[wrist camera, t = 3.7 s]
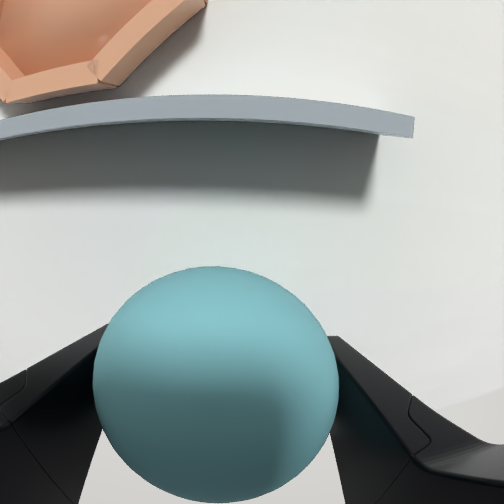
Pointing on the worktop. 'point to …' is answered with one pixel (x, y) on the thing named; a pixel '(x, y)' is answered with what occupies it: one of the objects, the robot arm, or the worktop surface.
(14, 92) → the saucer
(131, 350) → the ball
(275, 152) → the worktop surface
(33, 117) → the low wall
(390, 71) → the worktop surface
